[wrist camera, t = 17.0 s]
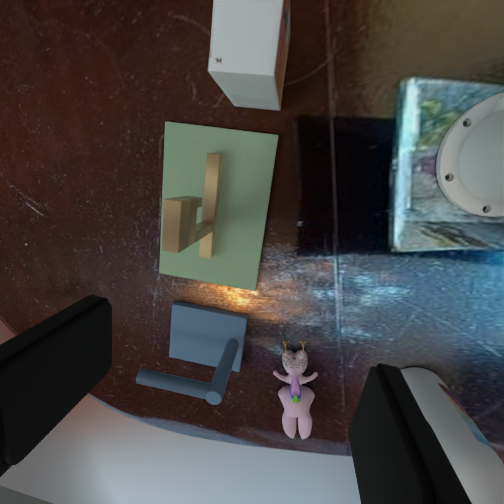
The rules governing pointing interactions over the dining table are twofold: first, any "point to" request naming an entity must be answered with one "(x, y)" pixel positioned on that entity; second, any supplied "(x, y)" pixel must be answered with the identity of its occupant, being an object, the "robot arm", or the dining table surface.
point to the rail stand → (202, 349)
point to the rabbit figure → (296, 393)
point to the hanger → (194, 214)
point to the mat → (220, 199)
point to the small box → (250, 50)
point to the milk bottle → (458, 437)
